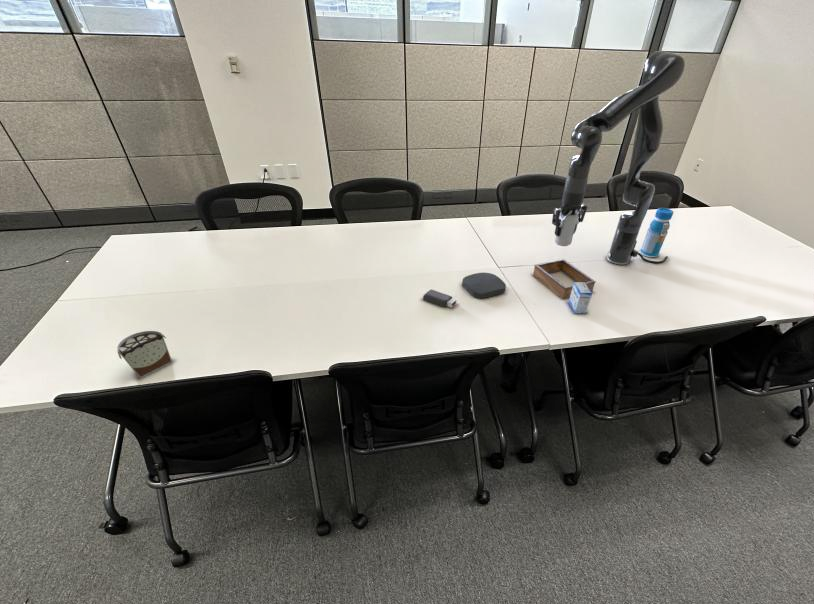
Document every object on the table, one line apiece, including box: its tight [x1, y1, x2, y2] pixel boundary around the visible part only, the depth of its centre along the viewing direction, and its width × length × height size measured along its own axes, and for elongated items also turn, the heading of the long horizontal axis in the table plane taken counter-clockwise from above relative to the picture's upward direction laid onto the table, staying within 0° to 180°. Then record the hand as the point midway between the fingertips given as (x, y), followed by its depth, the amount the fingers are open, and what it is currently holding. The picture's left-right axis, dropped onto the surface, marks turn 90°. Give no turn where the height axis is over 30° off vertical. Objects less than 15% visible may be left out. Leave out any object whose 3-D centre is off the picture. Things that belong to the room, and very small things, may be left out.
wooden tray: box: [532, 258, 597, 300], centre depth 168 cm, size 15×21×5 cm
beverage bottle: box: [639, 207, 674, 258], centre depth 187 cm, size 8×8×20 cm
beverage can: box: [554, 214, 577, 247], centre depth 159 cm, size 6×6×12 cm
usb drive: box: [422, 289, 457, 309], centre depth 155 cm, size 5×12×3 cm, turn 59°
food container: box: [116, 330, 173, 379], centre depth 119 cm, size 12×6×10 cm, turn 145°
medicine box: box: [568, 281, 593, 314], centre depth 153 cm, size 8×4×9 cm, turn 6°
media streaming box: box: [461, 272, 507, 299], centre depth 163 cm, size 15×15×3 cm
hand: (564, 234), depth 160 cm, fingers closed on beverage can, 6 cm apart
